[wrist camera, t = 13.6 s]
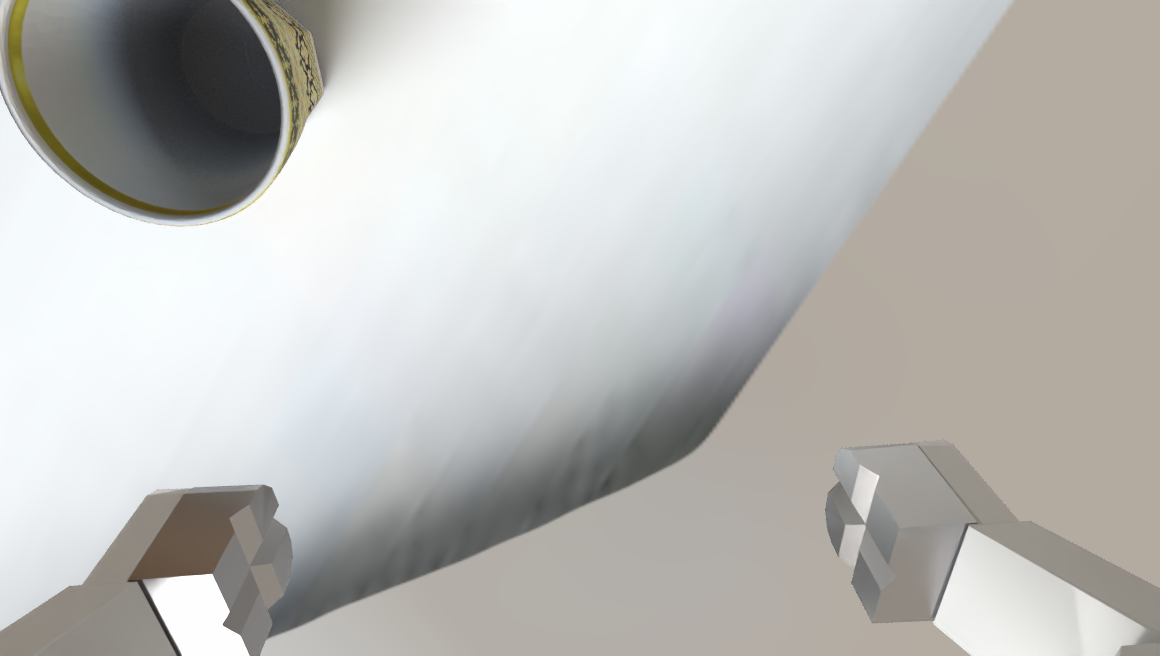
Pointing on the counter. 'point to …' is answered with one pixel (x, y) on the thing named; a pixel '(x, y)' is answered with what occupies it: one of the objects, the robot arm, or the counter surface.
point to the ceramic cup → (160, 99)
